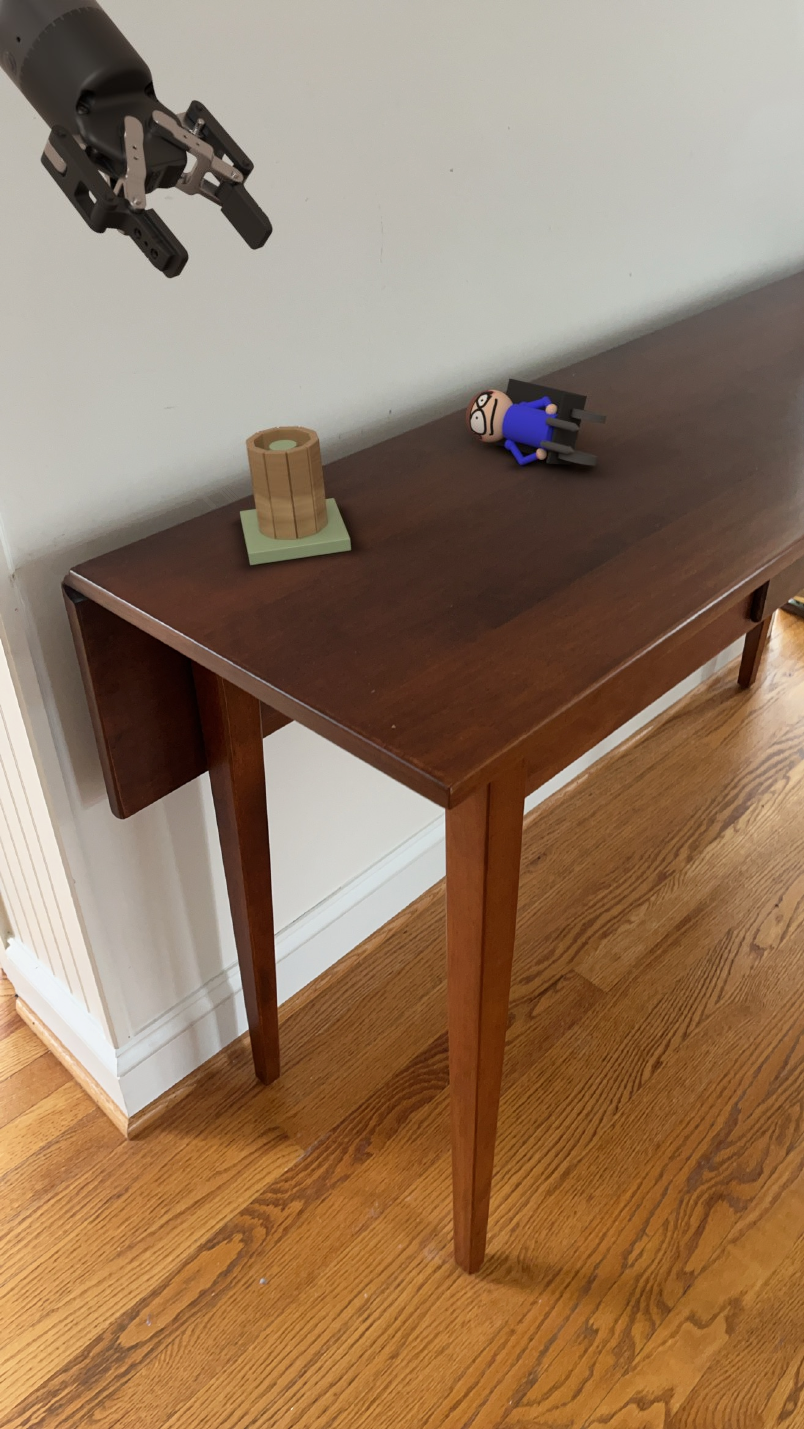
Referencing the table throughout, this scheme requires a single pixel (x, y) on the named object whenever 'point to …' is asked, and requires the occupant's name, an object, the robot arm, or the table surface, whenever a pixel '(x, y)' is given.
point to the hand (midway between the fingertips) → (224, 254)
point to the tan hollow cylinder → (287, 483)
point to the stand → (285, 549)
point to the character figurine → (532, 422)
